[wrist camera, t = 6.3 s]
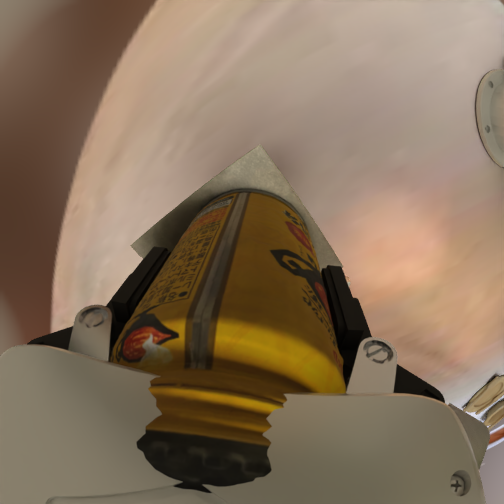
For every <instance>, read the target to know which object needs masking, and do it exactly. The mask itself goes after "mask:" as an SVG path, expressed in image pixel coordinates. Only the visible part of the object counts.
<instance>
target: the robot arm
mask: <svg viewBox="0 0 504 504" xmlns="http://www.w3.org/2000/svg"><path fill="white" fill-rule="evenodd" d="M476 115H477V122H478V128H479V132H480V136H481V139H482V141H483V144H484V146H485V148H486V150H487V152H488V154H489V155H490V157H491V158H492V159H493V161H494V162H496V163H497V164H498V165H499V166H501V167H503V168H504V70H503V69H501V70H493V71H490V72H489V73H488V74H486V75H485V77H484V78H483V79H482V81H481V83H480V86H479V88H478V93H477V101H476ZM170 254H171V252H170V251H168V249H167V248H164V247H155V246H154V247H153V248H152V249H151V250H150V251H149V253H148V254H147V255H146V256H145V258H144V259H143V260H142V261H141V263H140V264H139V265H138V266H137V268H136V269H135V270H134V272H133V273H132V274H130V275H129V276H128V278H127V279H126V280H125V282H124V283H123V284H122V286H121V287H120V288H119V289H118V291H117V292H116V293H115V295H114V296H113V297H112V299H111V300H110V301H109V303H108V304H107V306H103V305H91V306H88V307H85V308H83V309H82V310H80V311H79V312H78V314H77V315H76V317H75V321H74V325H73V326H72V327H69V328H66V329H63V330H60V331H57V332H54V333H51V334H48V335H45V336H42V337H39V338H36V339H34V340H32V341H30V342H29V343H28V344H27V345H19V346H15V347H12V348H10V349H8V350H7V351H5V352H4V353H3V354H2V355H0V504H486V501H485V496H484V491H483V486H482V482H481V478H480V473H479V469H480V466H481V463H482V461H483V458H484V455H485V452H486V449H487V446H488V443H489V439H490V433H489V430H488V428H487V426H486V425H485V424H484V423H482V422H481V421H479V420H477V419H476V418H474V417H472V416H471V415H469V414H467V413H465V412H464V411H462V410H460V409H459V408H457V407H455V406H454V405H452V404H451V403H449V405H447V404H445V400H444V397H443V395H442V394H441V393H440V391H439V390H437V389H436V388H435V387H433V386H431V385H430V384H428V383H427V382H425V381H423V380H422V379H420V378H418V377H417V376H415V375H414V374H412V373H410V372H409V371H407V370H406V369H404V368H402V367H401V366H399V365H398V364H397V351H396V349H395V348H394V347H393V345H392V344H391V343H389V342H388V341H386V340H384V339H381V338H377V337H372V336H371V333H370V330H369V327H368V325H367V322H366V319H365V316H364V314H363V311H362V308H361V305H360V303H359V300H358V299H357V298H353V297H352V294H351V291H350V289H349V286H348V283H347V281H346V278H345V275H344V273H343V270H342V267H341V266H333V265H327V267H326V268H322V270H321V276H322V279H323V282H324V287H325V289H326V291H327V301H328V306H329V310H330V314H331V319H332V323H333V327H334V332H335V336H336V340H337V347H338V350H339V353H340V355H341V357H342V358H343V377H344V381H345V385H346V393H308V392H306V393H286V394H284V395H285V397H286V398H287V401H286V402H285V403H284V404H283V406H284V408H279V409H275V410H274V411H273V412H272V413H271V414H270V415H269V416H268V417H267V418H266V419H267V420H268V422H269V423H270V424H271V426H272V427H271V428H270V429H269V430H267V431H266V432H264V433H263V436H264V437H266V438H267V439H269V441H270V442H271V444H270V446H269V448H268V451H267V456H268V458H269V461H270V464H271V469H272V470H271V472H270V473H269V474H268V475H266V476H265V477H259V478H255V480H254V481H252V482H248V483H243V484H237V485H234V486H227V487H216V486H212V485H205V484H202V485H203V486H204V487H206V488H207V489H208V490H209V491H210V492H212V493H205V492H201V491H197V490H190V489H181V488H177V487H173V486H175V485H177V484H179V483H182V481H179V480H175V479H172V478H170V477H168V476H166V475H164V474H162V473H161V472H159V471H157V470H155V469H154V468H153V466H152V465H151V464H150V463H149V462H148V461H147V460H146V459H145V456H144V453H143V452H142V451H141V450H139V449H138V448H137V443H136V442H137V441H138V440H139V439H140V438H141V437H142V436H143V435H144V434H145V427H146V426H147V425H148V424H149V423H150V422H152V421H153V420H154V419H155V418H157V417H158V416H160V415H162V413H161V411H160V410H159V409H158V408H157V407H156V398H155V397H154V396H153V395H152V394H151V392H150V391H149V390H148V388H149V387H150V386H151V384H150V381H151V380H152V379H154V378H156V377H160V376H158V375H155V374H152V373H149V372H145V371H142V370H139V369H134V368H130V367H126V366H122V365H119V364H115V363H111V362H110V360H111V356H112V352H113V348H114V346H115V344H116V342H117V340H118V338H119V335H120V334H121V333H122V331H123V329H124V327H125V325H126V323H127V322H128V321H129V320H130V318H131V316H132V315H133V313H134V311H135V309H136V308H137V306H138V305H139V302H140V301H141V300H142V299H143V297H144V295H145V294H146V292H147V291H148V289H149V287H150V286H151V284H152V283H153V281H154V280H155V278H156V277H157V275H158V273H159V272H160V270H161V269H162V267H163V266H164V264H165V262H166V261H167V259H168V258H169V256H170Z"/></svg>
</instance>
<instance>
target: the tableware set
mask: <svg viewBox="0 0 504 504" xmlns="http://www.w3.org/2000/svg"><path fill="white" fill-rule="evenodd" d="M503 395H504V375H503V376H500V377H498V376H496V377H495V378H494V379H493V380H492V381H491V382H489V383H488V384H487V385H485V386H484V387H483V388H482V389H480V390H479V391H478V392H477V393H476V394H475V395H474V396H473V398H472V399H471V400H470V401H469V403H468V405H467V406H466V407H465V408H464V409H463V411H464V412H466V411H467V412H475V411H477V412H476V413H475V414H476V415H477V414H479V413H481V412H482V411H483V410H485V409H486V408H488V407H489V406H490V405H492V404H493V403H494V402H496V401H497V400H498V399H499V398H501V397H502V396H503ZM503 418H504V400H503V401H500V402H499V403H497V404H496V405H495V406H493V407H492V408H491V409H490V410H489V411H488V413H487V418H486V420H485V421H484V424H485V425H486V426H489V425H491V426H489V427H488V430H489V429H491V428H492V427H493V426H495V425H496V424H497V423H498V422H499V421H500V420H501V419H503Z"/></svg>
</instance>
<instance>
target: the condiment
mask: <svg viewBox="0 0 504 504" xmlns="http://www.w3.org/2000/svg"><path fill="white" fill-rule="evenodd" d="M154 246H155V247H164V248H167V249H168V251H170V252H171V254H170V256H169V258H168V259H167V261H166V262H165V264H164V266H163V267H162V269H161V270H160V272H159V273H158V275H157V277H156V278H155V280H154V281H153V283H152V284H151V286H150V287H149V289H148V291H147V292H146V294H145V295H144V297H143V299H142V300H141V301H140V302H139V305H138V306H137V308H136V309H135V311H134V313H133V315H132V316H131V318H130V320H129V321H128V322H127V323H126V325H125V327H124V329H123V331H122V333H121V334H120V335H119V338H118V340H117V342H116V344H115V346H114V348H113V352H112V356H111V360H110V362H111V363H115V364H119V365H122V366H126V367H130V368H134V369H139V370H142V371H145V372H149V373H152V374H155V375H158V376H160V377H156V378H154V379H152V380H151V381H150V384H151V386H150V387H149V388H148V390H149V391H150V392H151V394H152V395H153V396H154V397H155V398H156V407H157V408H158V409H159V410H160V411H161V413H162V415H160V416H158V417H157V418H155V419H154V420H153V421H152V422H150V423H149V424H148V425H147V426H146V427H145V434H144V435H143V436H142V437H141V438H140V439H139V440H138V441H137V442H136V443H137V448H138V449H139V450H141V451H142V452H143V453H144V456H145V459H146V460H147V461H148V462H149V463H150V464H151V465H152V466H153V468H154V469H155V470H157V471H159V472H161V473H162V474H164V475H166V476H168V477H170V478H172V479H175V480H179V481H182V483H179V484H177V485H175V486H173V487H177V488H181V489H190V490H197V491H201V492H205V493H212V492H210V491H209V490H208V489H207V488H206V487H204V486H203V485H202V484H205V485H212V486H216V487H227V486H234V485H237V484H243V483H248V482H252V481H254V480H255V478H259V477H265V476H266V475H268V474H269V473H270V472H271V470H272V469H271V464H270V461H269V458H268V456H267V451H268V448H269V446H270V444H271V442H270V441H269V439H267V438H266V437H264V436H263V433H264V432H266V431H267V430H269V429H270V428H271V427H272V426H271V424H270V423H269V422H268V420H267V419H266V418H267V417H268V416H269V415H270V414H271V413H272V412H273V411H274V410H275V409H279V408H284V406H283V404H284V403H285V402H286V401H287V398H286V397H285V395H284V394H286V393H306V392H308V393H346V385H345V381H344V377H343V358H342V357H341V355H340V353H339V350H338V347H337V340H336V336H335V332H334V327H333V323H332V319H331V314H330V310H329V306H328V301H327V291H326V289H325V287H324V282H323V279H322V276H321V270H322V268H326V267H327V265H333V266H341V267H343V266H342V264H341V262H340V261H339V259H338V257H337V256H336V254H335V253H334V251H333V249H332V248H331V246H330V245H329V243H328V242H327V240H326V238H325V237H324V235H323V234H322V232H321V230H320V229H319V227H318V226H317V224H316V223H315V221H314V220H313V218H312V217H311V215H310V214H309V212H308V211H307V209H306V208H305V206H304V205H303V203H302V202H301V200H300V199H299V198H298V196H297V195H296V193H295V192H294V190H293V189H292V187H291V186H290V185H289V183H288V182H287V180H286V179H285V177H284V176H283V175H282V174H281V173H280V171H279V169H278V168H277V167H276V165H275V164H274V162H273V161H272V160H271V158H270V157H269V156H268V154H267V153H266V152H265V150H264V149H263V147H262V146H261V145H259V146H257V147H256V148H254V149H253V150H251V151H250V152H248V153H247V154H246V155H244V156H243V157H241V158H240V159H239V160H237V161H236V162H234V163H233V164H232V165H230V166H229V167H227V168H226V169H225V170H223V171H222V172H221V173H220V174H218V175H217V176H215V177H214V178H213V179H211V180H210V181H209V182H207V183H206V184H205V185H203V186H202V187H201V188H200V189H198V190H197V191H196V192H194V193H193V194H192V195H191V196H189V197H188V198H187V199H185V200H184V201H183V202H182V203H181V204H179V205H178V206H177V207H176V208H175V209H173V210H172V211H171V212H170V213H168V214H167V215H166V216H165V217H163V218H162V219H161V220H160V221H159V222H157V223H156V224H155V225H154V226H153V227H151V228H150V229H149V230H148V231H147V232H146V233H145V234H143V235H142V236H141V237H140V238H139V239H138V240H136V241H135V242H134V243H133V244H132V245H131V247H132V248H133V249H134V250H135V251H136V252H137V253H138V255H139V256H141V257H142V258H143V259H144V258H145V256H146V255H147V254H148V253H149V251H150V250H151V249H152V248H153V247H154Z"/></svg>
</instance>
